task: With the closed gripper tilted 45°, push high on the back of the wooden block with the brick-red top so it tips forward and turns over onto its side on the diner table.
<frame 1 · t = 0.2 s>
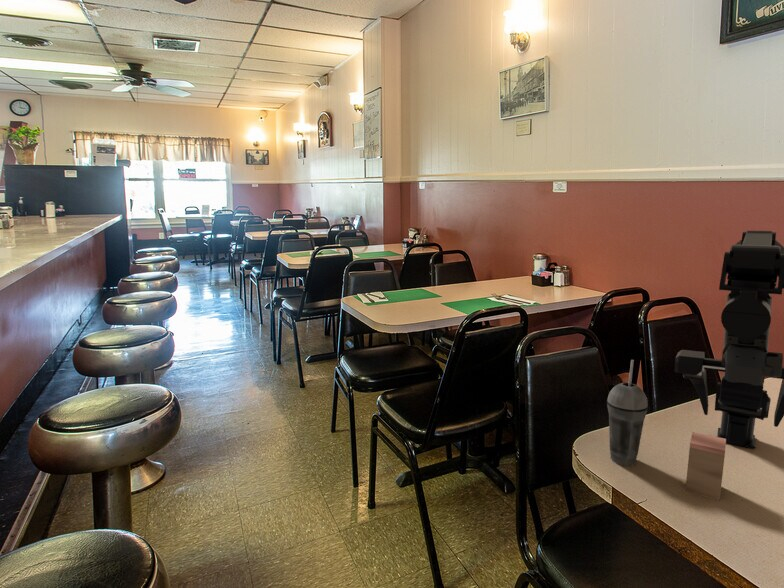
hand: (739, 419, 80), 15 cm above the table, tool pointing down, fingers open, 9 cm apart
wooden block: (703, 488, 87), on the table
beverage cup: (622, 460, 97), on the table
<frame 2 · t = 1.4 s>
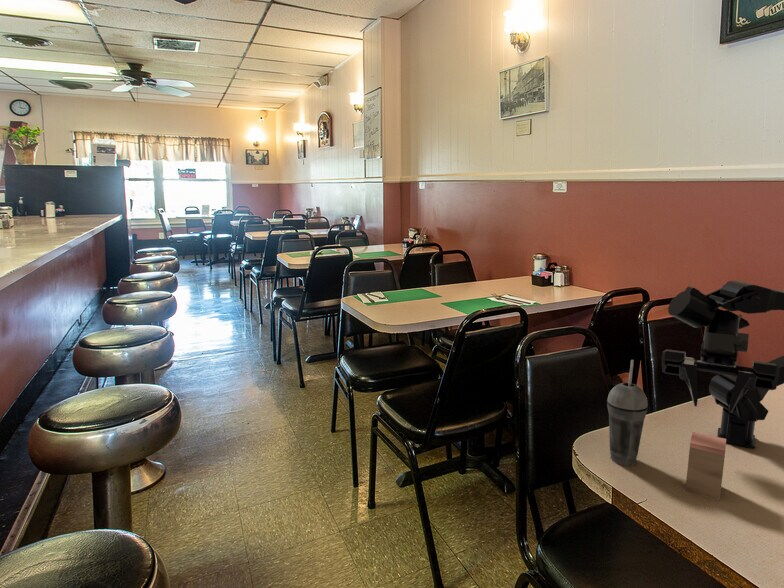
hand: (712, 408, 92), 12 cm above the table, tool tilted 45°, fingers open, 5 cm apart
nothing on the table moved.
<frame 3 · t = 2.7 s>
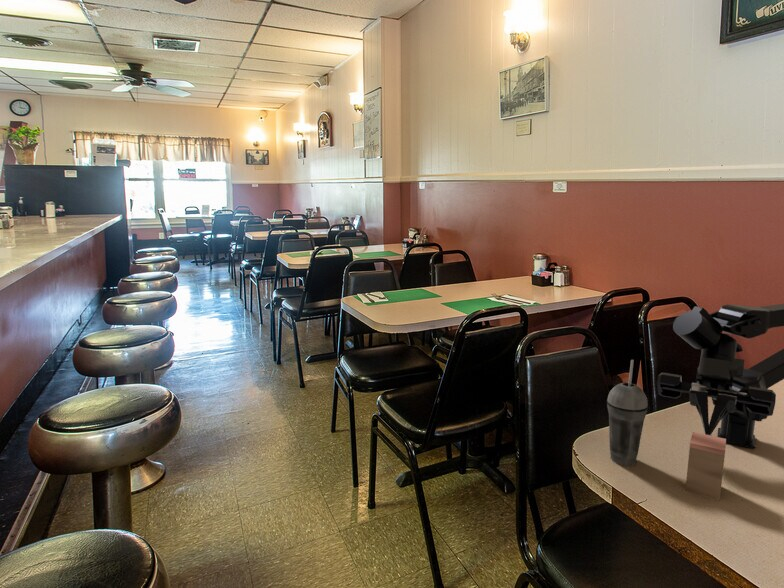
hand: (707, 434, 91), 7 cm above the table, tool tilted 45°, fingers closed
nothing on the table moved.
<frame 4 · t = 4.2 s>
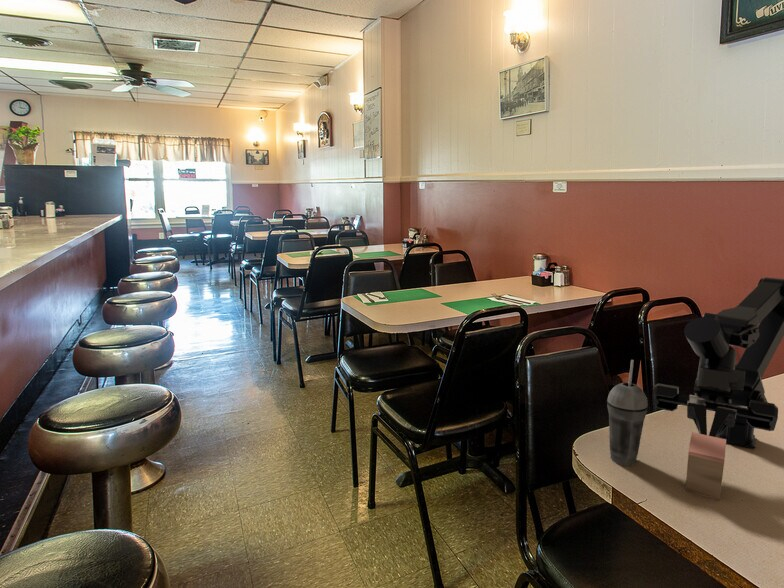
hand: (706, 449, 86), 7 cm above the table, tool tilted 45°, fingers closed
wooden block: (703, 484, 86), point 1 cm above the table, tilted 17°
everything else where it was.
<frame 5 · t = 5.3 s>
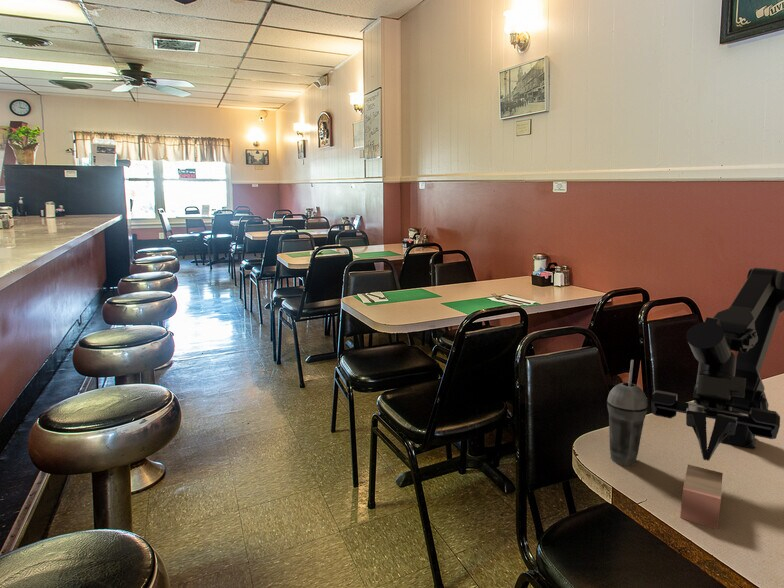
hand: (706, 459, 84), 7 cm above the table, tool tilted 45°, fingers closed
wooden block: (703, 482, 84), point 2 cm above the table, tilted 90°
everything else where it was.
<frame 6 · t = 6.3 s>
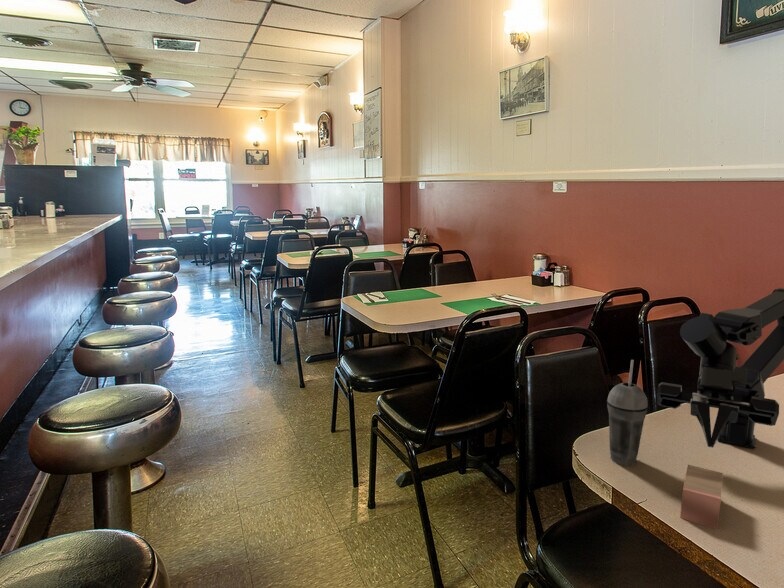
hand: (710, 446, 89), 6 cm above the table, tool tilted 45°, fingers closed
nothing on the table moved.
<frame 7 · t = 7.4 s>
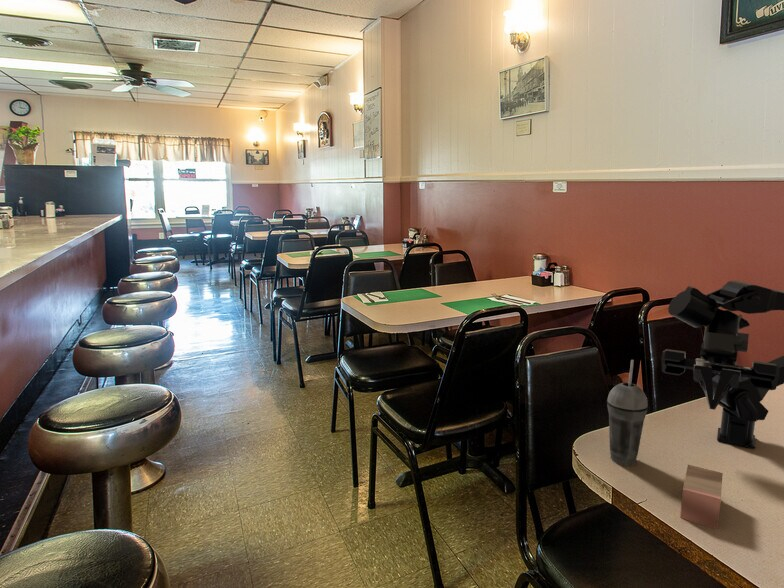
hand: (712, 408, 92), 12 cm above the table, tool tilted 45°, fingers closed
nothing on the table moved.
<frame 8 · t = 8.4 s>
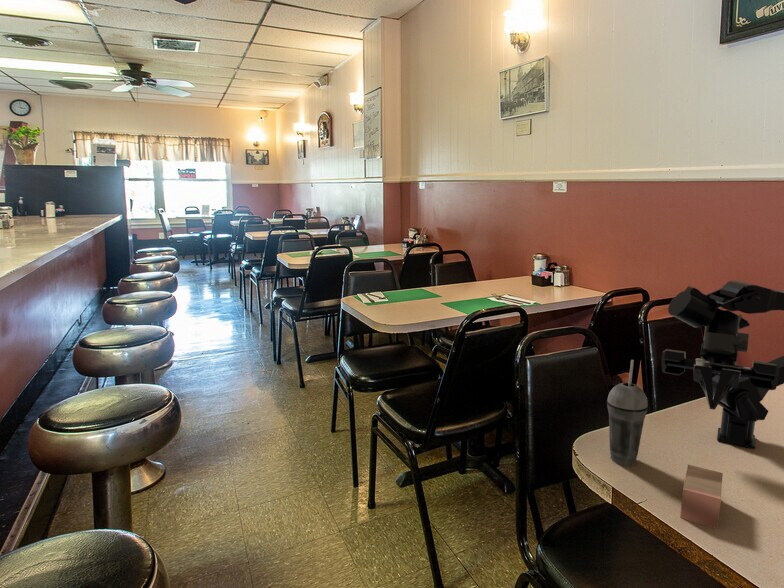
hand: (712, 408, 92), 12 cm above the table, tool tilted 45°, fingers closed
nothing on the table moved.
at the end: wooden block tilted 90°; wooden block inside the target area (1.5 cm from its centre), point 2.4 cm above the table; beverage cup moved 0.2 cm from its start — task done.
